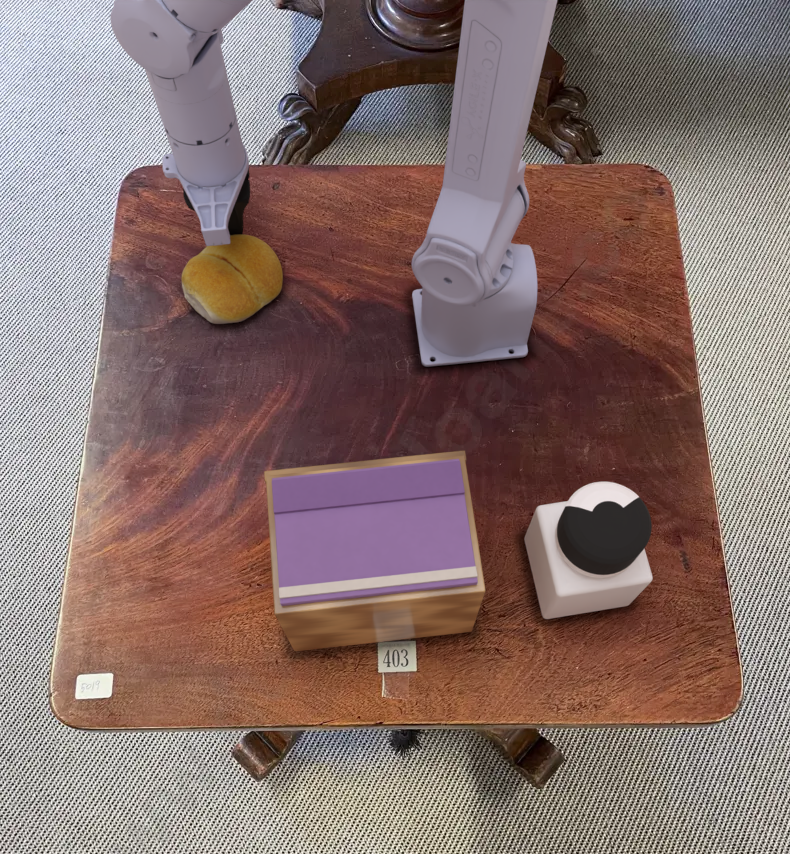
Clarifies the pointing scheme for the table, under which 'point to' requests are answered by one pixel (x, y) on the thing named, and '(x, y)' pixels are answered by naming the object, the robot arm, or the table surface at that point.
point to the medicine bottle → (589, 550)
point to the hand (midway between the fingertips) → (231, 233)
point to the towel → (372, 532)
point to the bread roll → (232, 279)
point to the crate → (382, 612)
